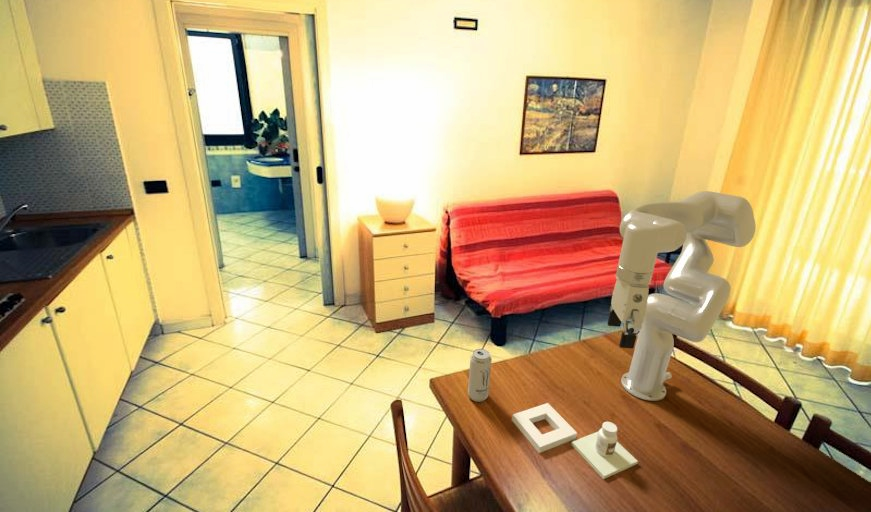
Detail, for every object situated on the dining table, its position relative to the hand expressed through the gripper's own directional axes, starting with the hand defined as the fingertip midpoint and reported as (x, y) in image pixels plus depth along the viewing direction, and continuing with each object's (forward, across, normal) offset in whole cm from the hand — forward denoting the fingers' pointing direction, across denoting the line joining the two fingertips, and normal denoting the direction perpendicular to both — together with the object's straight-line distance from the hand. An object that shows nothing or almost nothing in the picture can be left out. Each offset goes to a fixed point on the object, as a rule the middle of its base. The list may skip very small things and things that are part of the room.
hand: (619, 336), depth 102 cm
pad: (+28, -11, +2) cm, 30 cm away
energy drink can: (+28, +6, +34) cm, 44 cm away
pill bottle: (+27, -11, +2) cm, 29 cm away
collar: (+28, -4, +16) cm, 33 cm away
